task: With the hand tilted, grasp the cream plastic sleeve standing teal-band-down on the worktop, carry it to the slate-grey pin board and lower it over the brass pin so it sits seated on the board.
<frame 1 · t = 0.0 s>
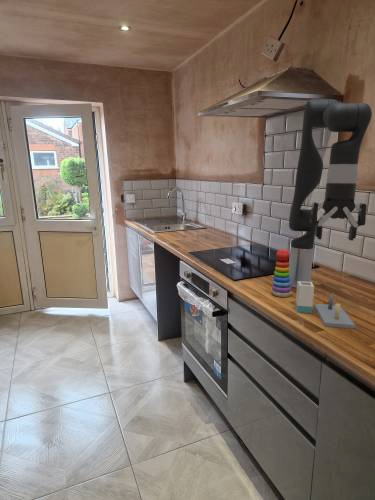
hand: (334, 239, 92), 29 cm above the worktop, tool pointing down, fingers open, 8 cm apart
pin board: (332, 316, 111), on the worktop
stacking toy: (280, 294, 131), on the worktop
sleeve: (303, 310, 116), on the worktop
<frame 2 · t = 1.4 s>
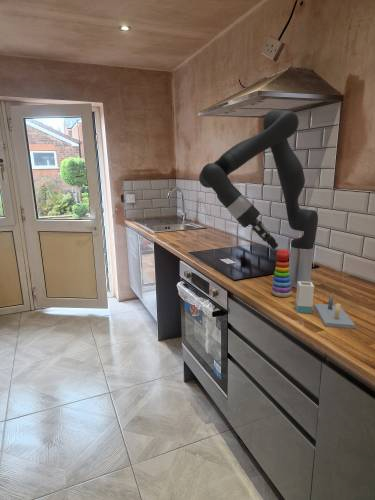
hand: (274, 244, 112), 24 cm above the worktop, tool tilted 45°, fingers open, 8 cm apart
nothing on the worktop moved.
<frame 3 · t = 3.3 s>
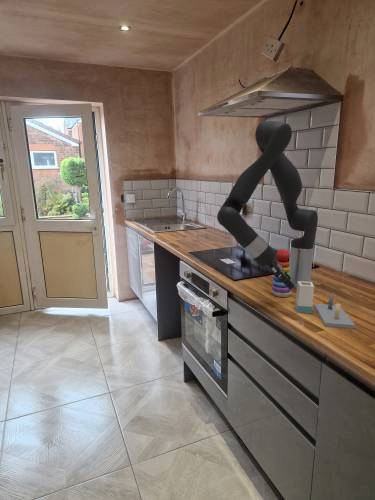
hand: (290, 283, 115), 10 cm above the worktop, tool tilted 45°, fingers open, 8 cm apart
nothing on the worktop moved.
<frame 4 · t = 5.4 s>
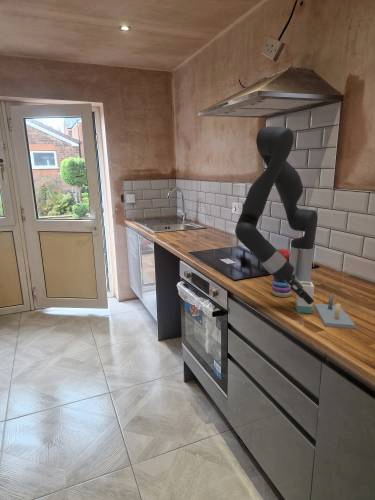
hand: (309, 299, 115), 4 cm above the worktop, tool tilted 45°, fingers closed on sleeve, 4 cm apart
sleeve: (303, 310, 116), on the worktop, touching gripper
everything else where it was.
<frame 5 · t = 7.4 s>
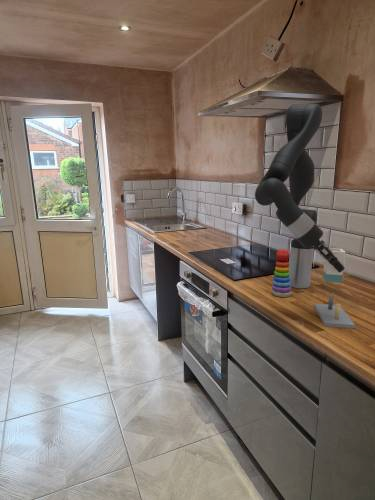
hand: (339, 267, 104), 18 cm above the worktop, tool tilted 45°, fingers closed on sleeve, 4 cm apart
sleeve: (331, 279, 105), point 14 cm above the worktop, touching gripper
everything else where it was.
when the fingers open (7 cm above the worktop, at t = 9.7 s): sleeve drops 1 cm, resting on pin board.
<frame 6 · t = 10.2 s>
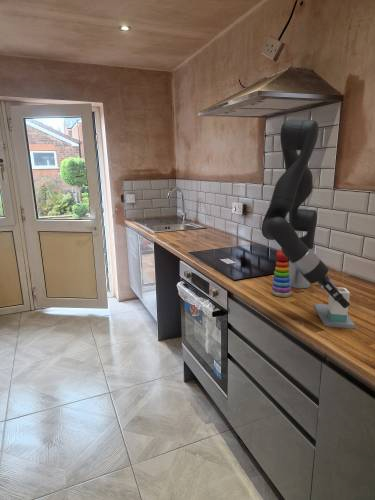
hand: (343, 301, 105), 7 cm above the worktop, tool tilted 45°, fingers open, 8 cm apart
sleeve: (336, 318, 107), point 1 cm above the worktop, touching pin board
everything else where it was.
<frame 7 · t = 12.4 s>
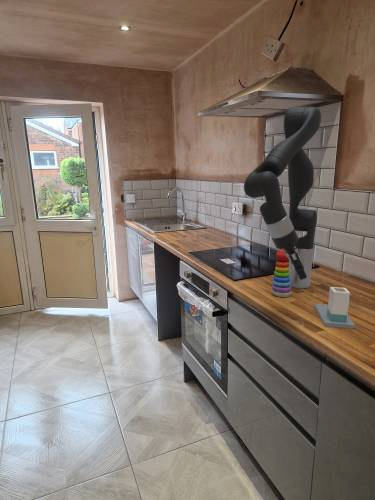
hand: (300, 272, 107), 16 cm above the worktop, tool tilted 30°, fingers open, 8 cm apart
nothing on the worktop moved.
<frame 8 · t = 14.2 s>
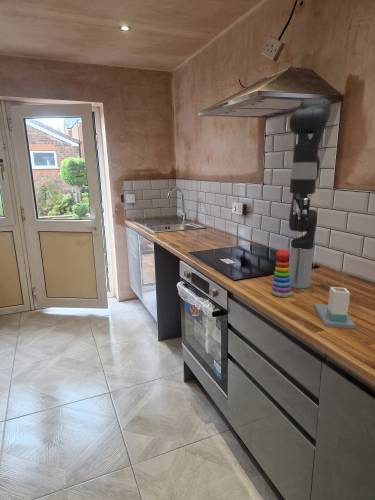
hand: (298, 229, 104), 30 cm above the worktop, tool pointing down, fingers open, 8 cm apart
nothing on the worktop moved.
at the end: sleeve 0.1 cm from the target spot on the pin board, point 1.2 cm above the pin board's base; sleeve tilted 0°; the gripper is holding nothing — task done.
